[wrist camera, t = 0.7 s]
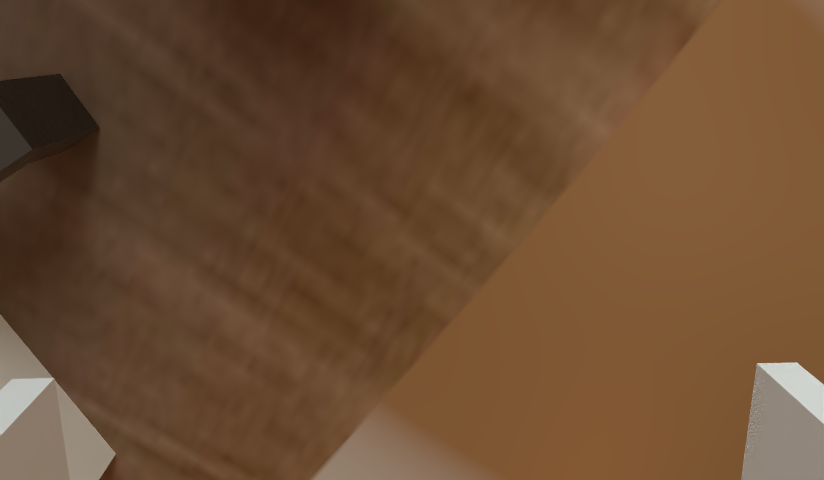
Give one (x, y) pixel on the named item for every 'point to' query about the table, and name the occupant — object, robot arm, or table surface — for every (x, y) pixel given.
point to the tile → (85, 447)
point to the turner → (39, 120)
